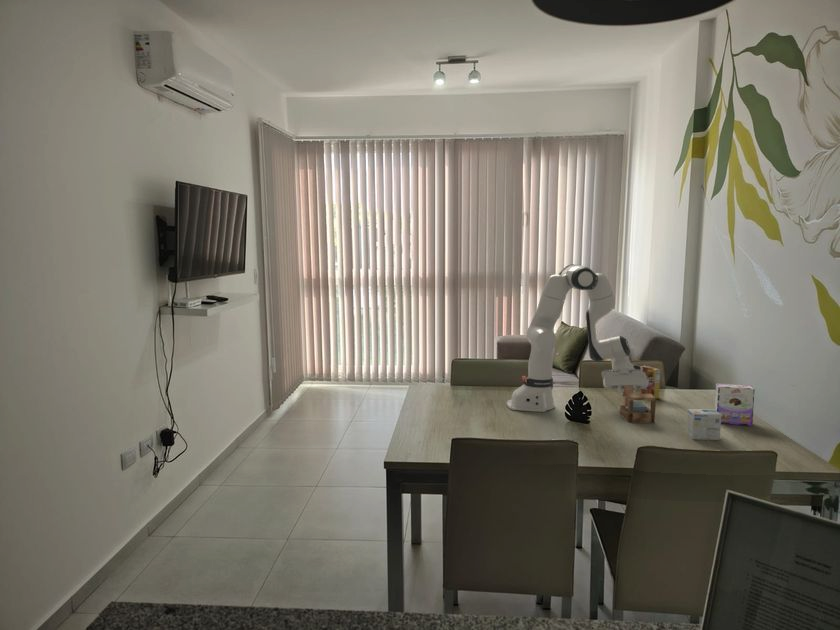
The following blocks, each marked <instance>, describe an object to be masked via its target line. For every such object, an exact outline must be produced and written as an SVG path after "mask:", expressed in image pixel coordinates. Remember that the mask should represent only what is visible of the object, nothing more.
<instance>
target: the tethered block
mask: <svg viewBox="0 0 840 630" xmlns="http://www.w3.org/2000/svg"><path fill="white" fill-rule="evenodd" d="M623 391H625V394H633V391H634V390H633V388H632V386H624V389H623ZM622 397H623V398H622V405H624V406H625V407H626V408H627V409H628V403H629V399H628V398H627V397H626V396H622ZM646 407H647V406H646V404H645V403H644V402H643V400H633V413H646Z"/></svg>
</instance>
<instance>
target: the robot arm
mask: <svg viewBox="0 0 840 630" xmlns="http://www.w3.org/2000/svg"><path fill="white" fill-rule="evenodd" d="M544 284H545V285H544V287H543V288H542V292H541V295H540V299H539V302H538V304H537V305H538V306H537V308H536V311H535V313H534V315H533V318H532V319H531V321H530V324H529V326H528V328H527V330H526V339H527V341H528V342H529V344H530V346H531V347H530V354H529V358H528V368H527V369H528V373H527V374H528V375H527V376H526V375H522V377H521V380H522V381H523V384H522V385H521V386H519V387H518V388H516V389H515V390H514V391H513V393H512V395H511V399H509V400H507V401H506V406H507V407H508V408H509V409H510V410H512V411H521V412H524V411H525V412H540V413H544V412H547V411H549V410H553V409H554V408H555V407H556V405H555V401H554V397H553V396H554V395H553V390H554V389H553V388H554V378H553V362H554V361H553V360H554V356H555V351H556V345H557V343H558V341H557V336H556V333H555V332H554V331H553V330H554V328H555V325H556V324H557V322H558V320H559V319H560V318H561V314H562V312H563V308H564V305H565V301H566V298H567V295H568V293H569V291H571V289H576V290H580V291H586V293H587V296H588V300H589V308H588V309H587V310H586V313H585V321H586V331H587V332H586V333H587V341H588V343H587V344H588V347H587V352H588V356H589V358H590V360H592V361H594V362H596V363H599V362H603V361H605V360H609V359H610V361H611V369H604V370H603V371H601V373H600V374H601V378H602V382H603V383H602V384H603V388H605V389H616V390H617V391H618V392H619V394H620V396H621V397H623V396H625V391H624V386H632V388H633V394H636V390H638V389H639V390H640V389H646V388H647V386H648V384H649V383H648V379H647V377H646V374H645V373H644V372H643V368H642V367H641V366H642V365H637V364H635V363H631V361H630V354H631V350H630V346H629V342H628V339H627V338H626V337H624V336H621V335H617V336H612V337H608V338H605V339H604V338H603V339H601V340H600V339H599V340H598V338H597V331H596V324H597V323H598V322H599V321H600V320H601V319H602V318H604V317H606V316H607V315H609V314H610V313H611V312H612V311H613V309H614V307H615V305H616V300H615V296H614V295H615V294H614V291H613V288H612V285H611V283H610V281H609V279H608V277H607V275H606V274H605V273H601V272H594V271H593V270H592V269H591V268H590V267H588V266H584V265H581V264H568V265H567V266H565V267H564V268H562V270H560V272H559V273H557V274H556V273H555V274H552V275H550V276H549V277H548V279H547V280H546V282H545V283H544ZM622 389H623V390H622Z"/></svg>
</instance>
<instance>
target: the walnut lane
mask: <svg viewBox="0 0 840 630" xmlns="http://www.w3.org/2000/svg"><path fill="white" fill-rule="evenodd" d="M625 396H626V397H627V398H628V399H629V403H628V409H627V407H625V406H624V405H623V404H622V405H619V406H620V407H619V414H620V415H621V416H622V417H623V418H624V419H625V420H626V421H627V422H628V423H630V424H631V423H637V424H639V423H645V424H646V423H647V424H648V423H653V424H654V423H655V421H656V403H657V399H656V397H654V396H653V395H652V394H640V393H635V394H625ZM633 401H650V408H649V407H647V406H646V413H633Z"/></svg>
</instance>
